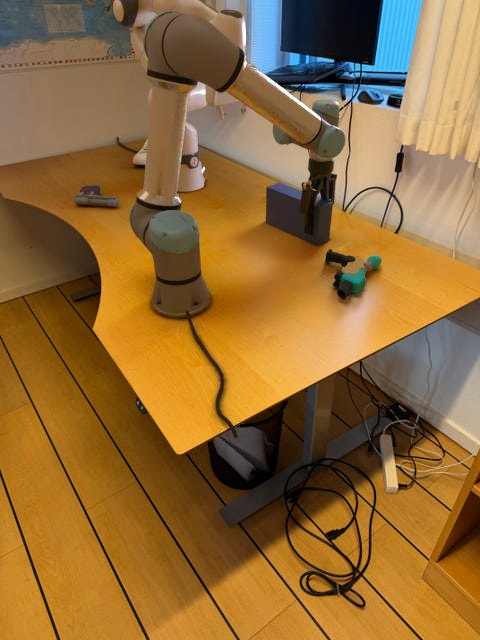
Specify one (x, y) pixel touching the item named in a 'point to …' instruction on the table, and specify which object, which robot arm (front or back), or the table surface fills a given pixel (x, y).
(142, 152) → the sneaker
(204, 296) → the front robot arm
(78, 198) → the toy gun
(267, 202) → the box
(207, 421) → the table surface
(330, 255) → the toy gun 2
